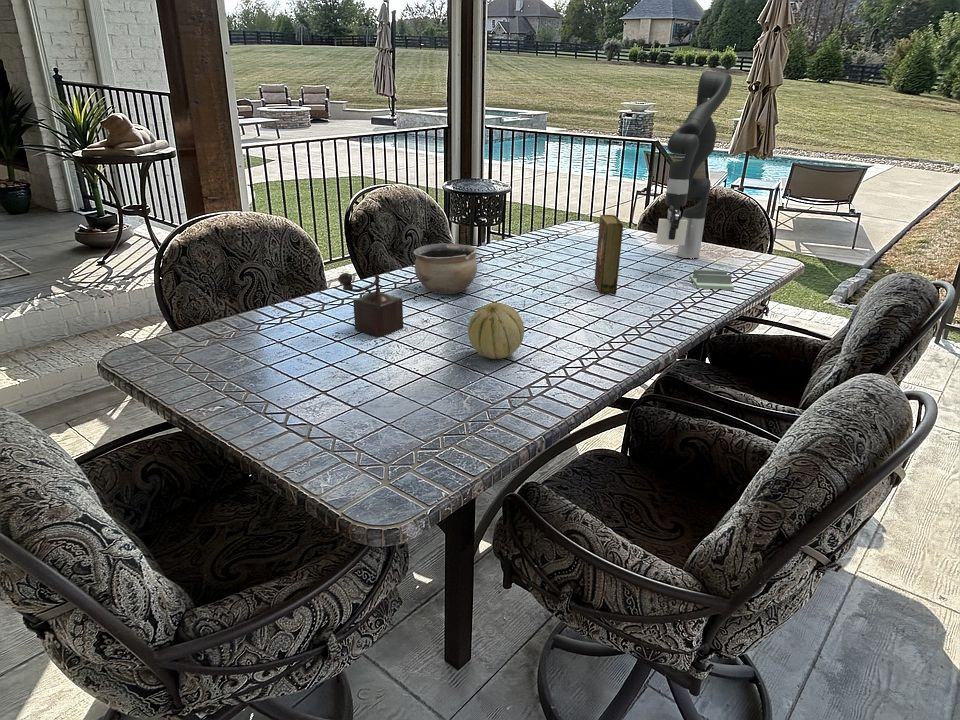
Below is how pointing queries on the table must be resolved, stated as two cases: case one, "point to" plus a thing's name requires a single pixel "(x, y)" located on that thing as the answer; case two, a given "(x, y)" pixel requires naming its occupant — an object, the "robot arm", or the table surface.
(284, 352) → the table surface
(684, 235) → the cream rectangular prism
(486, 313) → the cantaloupe
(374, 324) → the manual coffee grinder
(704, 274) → the dish rack
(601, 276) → the book
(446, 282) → the ceramic bowl
